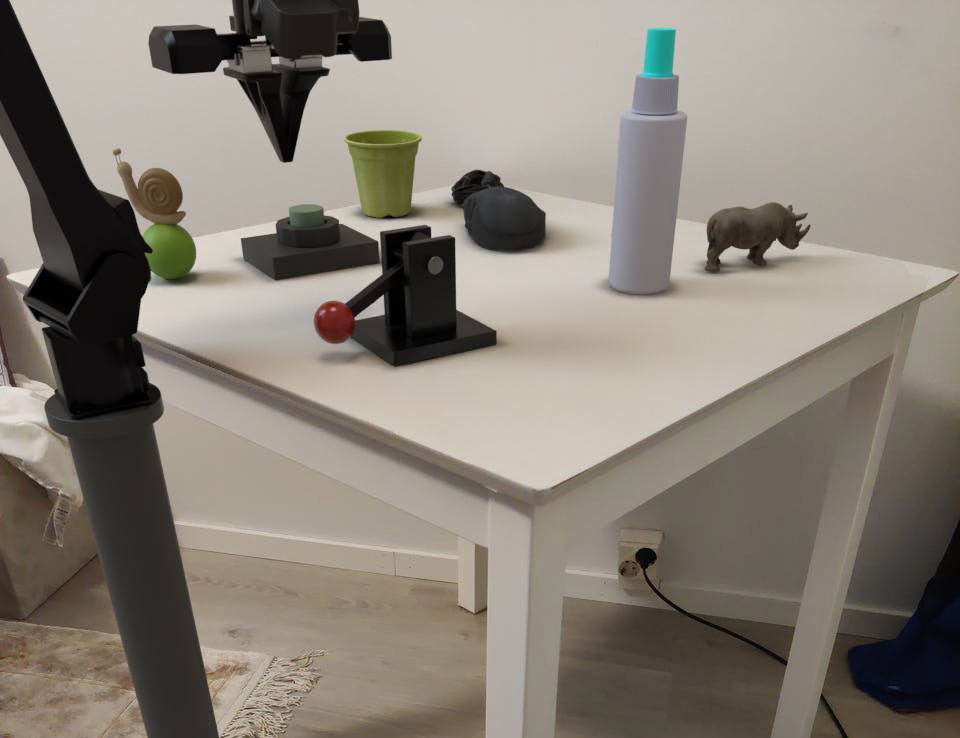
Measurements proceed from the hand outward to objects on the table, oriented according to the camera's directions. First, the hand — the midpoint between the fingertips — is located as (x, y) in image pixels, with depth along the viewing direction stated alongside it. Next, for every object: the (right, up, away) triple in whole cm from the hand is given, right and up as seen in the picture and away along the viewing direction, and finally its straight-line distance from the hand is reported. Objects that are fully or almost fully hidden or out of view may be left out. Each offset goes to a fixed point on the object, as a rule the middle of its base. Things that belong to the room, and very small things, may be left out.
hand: (286, 161), depth 84 cm
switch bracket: (+11, -15, +2) cm, 19 cm away
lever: (+9, -13, -2) cm, 16 cm away
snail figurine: (-15, -4, +17) cm, 23 cm away
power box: (-2, 0, +22) cm, 22 cm away
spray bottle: (+32, -6, +15) cm, 36 cm away
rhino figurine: (+46, -1, +21) cm, 51 cm away
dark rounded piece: (+18, +11, +37) cm, 43 cm away
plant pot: (+5, +13, +40) cm, 42 cm away
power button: (-2, +3, +20) cm, 20 cm away
